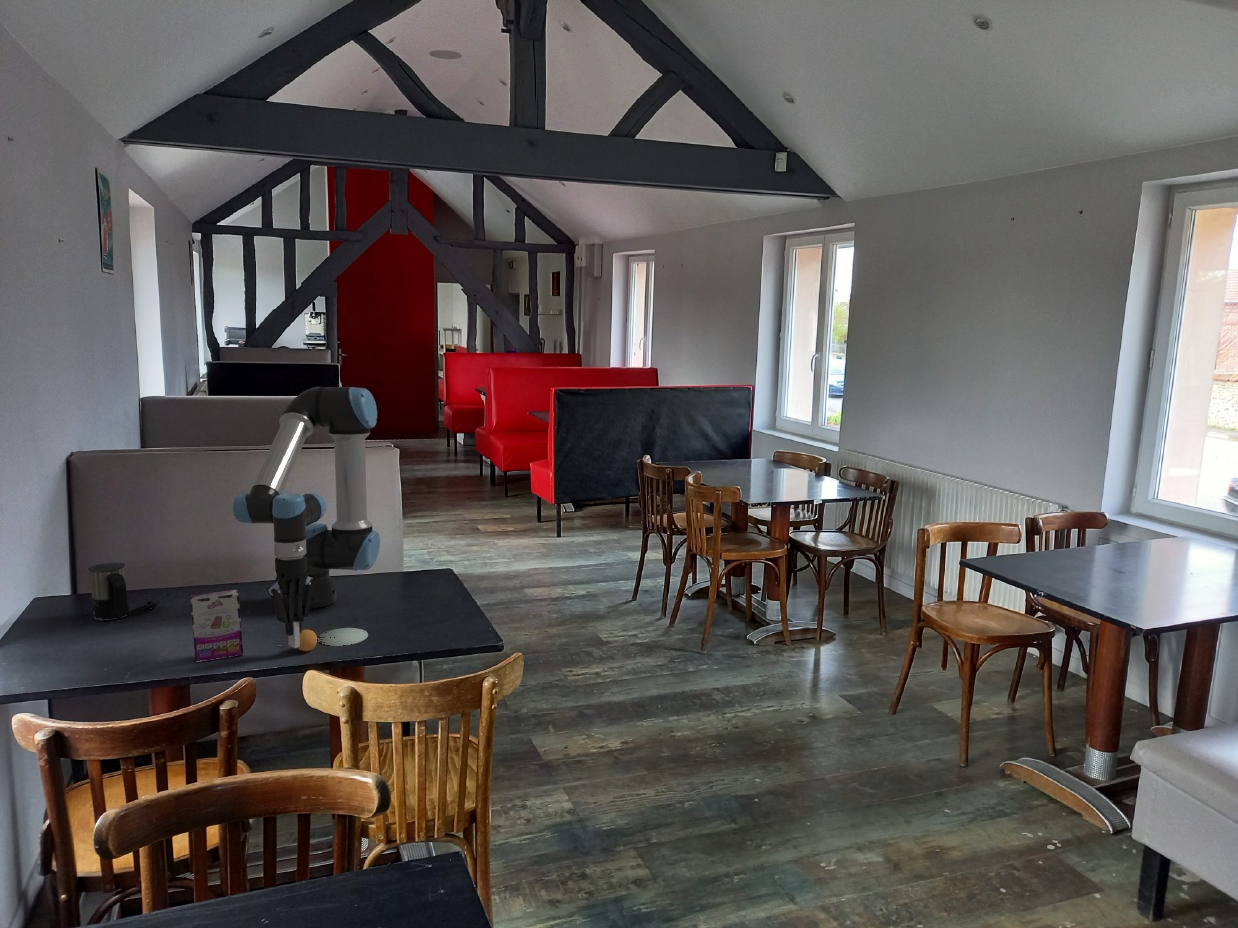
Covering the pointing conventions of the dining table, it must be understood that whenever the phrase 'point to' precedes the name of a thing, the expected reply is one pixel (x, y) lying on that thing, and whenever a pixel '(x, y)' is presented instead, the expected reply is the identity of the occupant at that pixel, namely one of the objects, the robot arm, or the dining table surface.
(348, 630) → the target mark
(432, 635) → the dining table surface
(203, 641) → the candy bar box
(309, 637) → the ball
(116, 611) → the milk frother
